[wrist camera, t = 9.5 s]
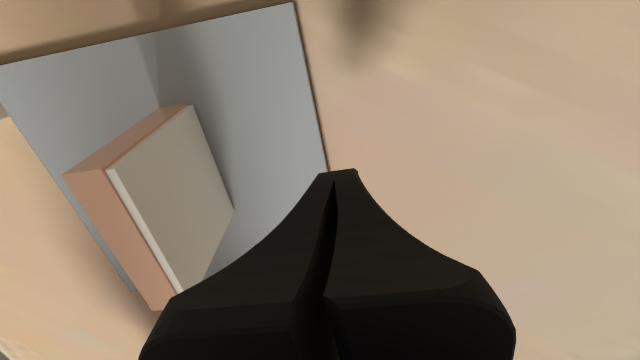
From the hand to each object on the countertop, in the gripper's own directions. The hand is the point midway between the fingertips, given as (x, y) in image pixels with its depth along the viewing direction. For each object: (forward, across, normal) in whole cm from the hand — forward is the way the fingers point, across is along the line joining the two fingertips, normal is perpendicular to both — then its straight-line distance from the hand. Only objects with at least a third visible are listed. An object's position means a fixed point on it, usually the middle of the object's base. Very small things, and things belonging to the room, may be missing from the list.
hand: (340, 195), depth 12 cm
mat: (+5, +8, +1) cm, 9 cm away
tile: (+4, +7, 0) cm, 8 cm away
